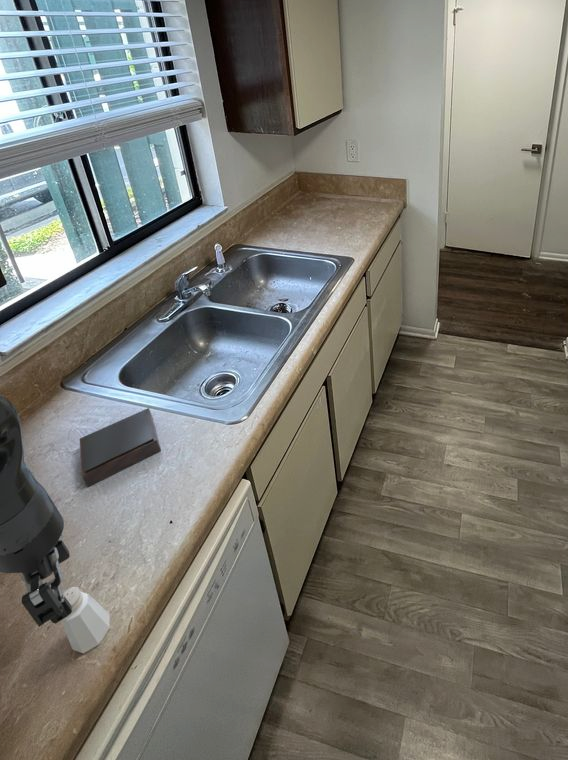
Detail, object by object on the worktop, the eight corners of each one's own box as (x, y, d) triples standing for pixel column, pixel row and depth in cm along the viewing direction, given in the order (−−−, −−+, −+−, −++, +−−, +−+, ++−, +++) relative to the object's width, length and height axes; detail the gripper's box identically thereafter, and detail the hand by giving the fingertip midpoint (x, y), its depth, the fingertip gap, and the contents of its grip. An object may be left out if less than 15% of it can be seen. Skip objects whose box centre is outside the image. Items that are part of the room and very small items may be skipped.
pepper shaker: (64, 657, 67) (37, 623, 63) (82, 614, 72) (58, 579, 67) (102, 650, 68) (78, 615, 63) (117, 608, 73) (96, 572, 68)
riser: (87, 487, 91) (81, 475, 90) (84, 449, 99) (78, 437, 98) (161, 451, 99) (156, 439, 97) (152, 418, 107) (148, 406, 105)
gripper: (-15, 496, 60) (32, 560, 67) (-28, 596, 50) (29, 659, 57) (52, 465, 64) (89, 528, 71) (53, 552, 54) (96, 616, 61)
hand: (62, 586), depth 64 cm, fingers open, 8 cm apart
